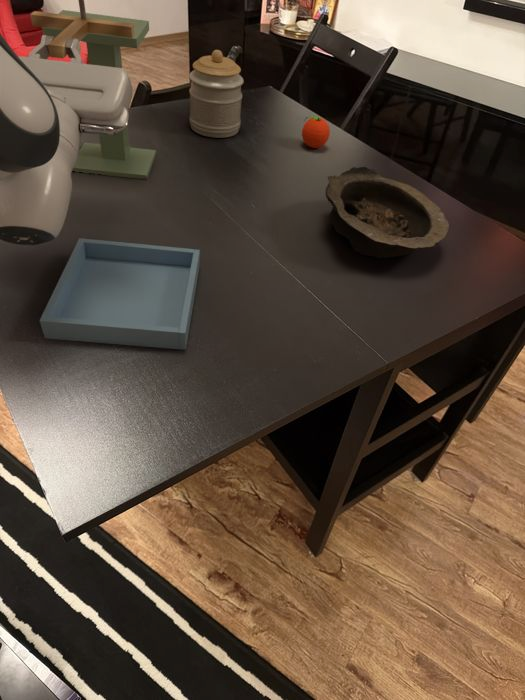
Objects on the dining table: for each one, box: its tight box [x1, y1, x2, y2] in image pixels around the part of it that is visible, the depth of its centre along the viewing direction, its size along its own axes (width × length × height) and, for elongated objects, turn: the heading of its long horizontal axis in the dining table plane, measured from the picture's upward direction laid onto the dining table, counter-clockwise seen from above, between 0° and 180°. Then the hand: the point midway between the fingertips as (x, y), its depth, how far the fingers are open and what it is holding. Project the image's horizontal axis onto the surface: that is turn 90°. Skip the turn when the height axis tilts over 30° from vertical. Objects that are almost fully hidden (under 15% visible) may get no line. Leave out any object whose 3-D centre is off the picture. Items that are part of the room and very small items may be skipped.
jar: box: [188, 49, 245, 139], centre depth 116 cm, size 13×13×18 cm
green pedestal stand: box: [41, 9, 157, 181], centre depth 96 cm, size 16×12×26 cm
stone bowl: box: [325, 166, 450, 259], centre depth 93 cm, size 25×25×9 cm
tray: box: [39, 237, 201, 351], centre depth 75 cm, size 20×20×4 cm
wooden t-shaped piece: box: [29, 0, 135, 59], centre depth 68 cm, size 15×15×4 cm
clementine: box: [301, 115, 331, 149], centre depth 119 cm, size 8×7×7 cm
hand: (62, 40), depth 66 cm, fingers closed on wooden t-shaped piece, 2 cm apart
